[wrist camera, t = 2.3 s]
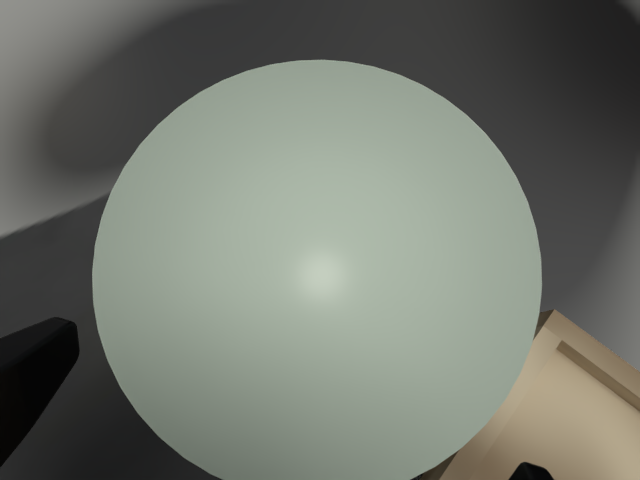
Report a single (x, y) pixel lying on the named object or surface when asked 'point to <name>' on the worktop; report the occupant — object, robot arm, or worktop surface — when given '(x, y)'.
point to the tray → (559, 414)
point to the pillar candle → (317, 276)
